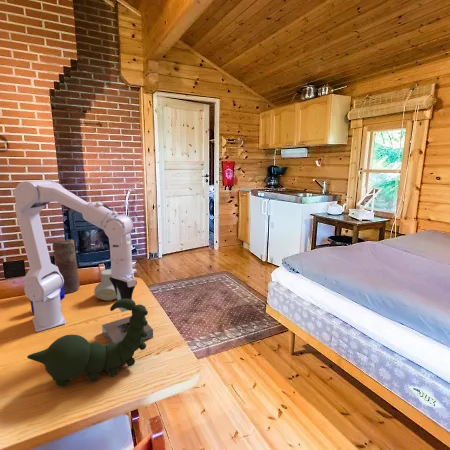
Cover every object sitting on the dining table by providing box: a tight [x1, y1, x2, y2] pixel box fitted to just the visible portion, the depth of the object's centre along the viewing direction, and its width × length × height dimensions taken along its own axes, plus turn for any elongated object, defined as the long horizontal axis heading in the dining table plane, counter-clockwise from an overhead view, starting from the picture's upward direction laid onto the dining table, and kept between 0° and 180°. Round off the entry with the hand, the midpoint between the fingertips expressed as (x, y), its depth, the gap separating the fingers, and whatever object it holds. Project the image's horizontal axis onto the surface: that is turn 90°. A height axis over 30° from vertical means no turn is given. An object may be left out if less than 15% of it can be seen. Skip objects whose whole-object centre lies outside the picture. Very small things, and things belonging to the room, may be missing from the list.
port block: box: [101, 315, 154, 344], centre depth 87 cm, size 11×11×2 cm
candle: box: [52, 238, 81, 294], centre depth 114 cm, size 8×7×20 cm
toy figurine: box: [26, 299, 149, 388], centre depth 69 cm, size 9×19×25 cm
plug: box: [116, 288, 133, 313], centre depth 88 cm, size 3×3×7 cm
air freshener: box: [93, 268, 117, 302], centre depth 110 cm, size 11×8×10 cm
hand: (124, 301), depth 88 cm, fingers closed on plug, 3 cm apart
